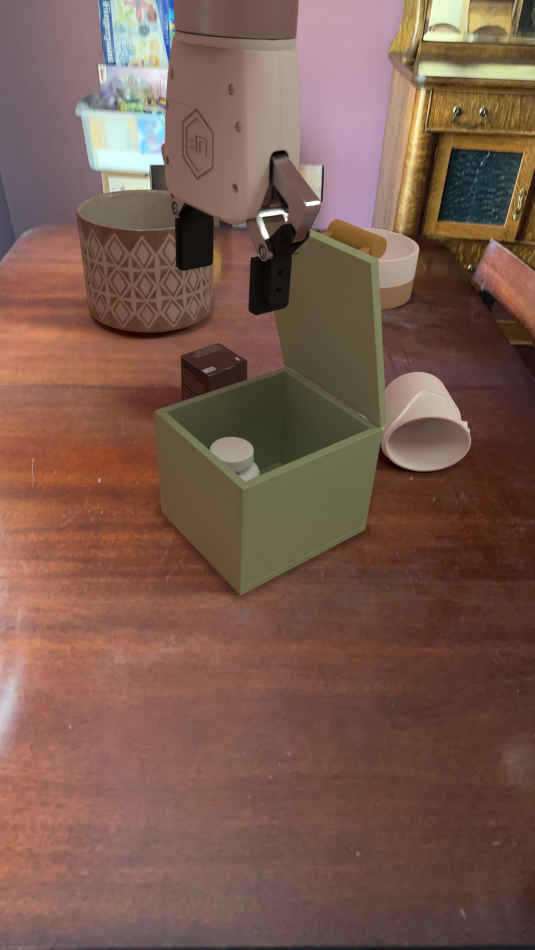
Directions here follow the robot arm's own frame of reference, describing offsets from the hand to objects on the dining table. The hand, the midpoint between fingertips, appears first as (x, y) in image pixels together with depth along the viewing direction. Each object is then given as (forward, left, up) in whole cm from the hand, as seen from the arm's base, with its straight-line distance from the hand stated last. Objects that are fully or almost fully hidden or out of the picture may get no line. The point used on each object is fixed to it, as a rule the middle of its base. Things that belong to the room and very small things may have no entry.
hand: (229, 287), depth 51 cm
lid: (+9, -5, -5) cm, 11 cm away
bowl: (+67, +8, -26) cm, 73 cm away
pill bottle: (+1, 0, -25) cm, 25 cm away
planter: (+40, +34, -26) cm, 59 cm away
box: (+20, +12, -26) cm, 35 cm away
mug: (+23, -12, -26) cm, 37 cm away
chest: (+4, -2, -26) cm, 26 cm away
